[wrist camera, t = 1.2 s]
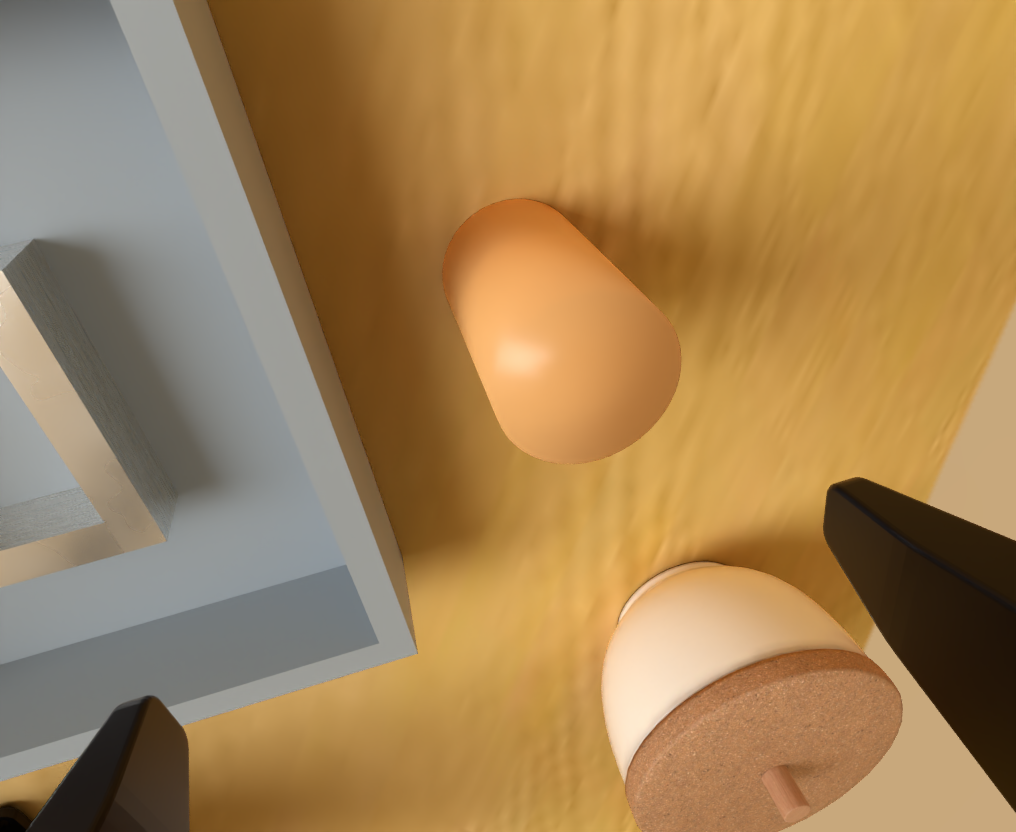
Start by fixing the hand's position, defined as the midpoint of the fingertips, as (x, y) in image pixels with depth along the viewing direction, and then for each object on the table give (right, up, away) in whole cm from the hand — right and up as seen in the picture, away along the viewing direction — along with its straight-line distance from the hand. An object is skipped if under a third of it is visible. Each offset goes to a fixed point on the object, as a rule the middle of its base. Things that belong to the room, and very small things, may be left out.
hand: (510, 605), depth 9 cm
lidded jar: (+8, -6, +23) cm, 25 cm away
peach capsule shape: (0, +7, +12) cm, 14 cm away
